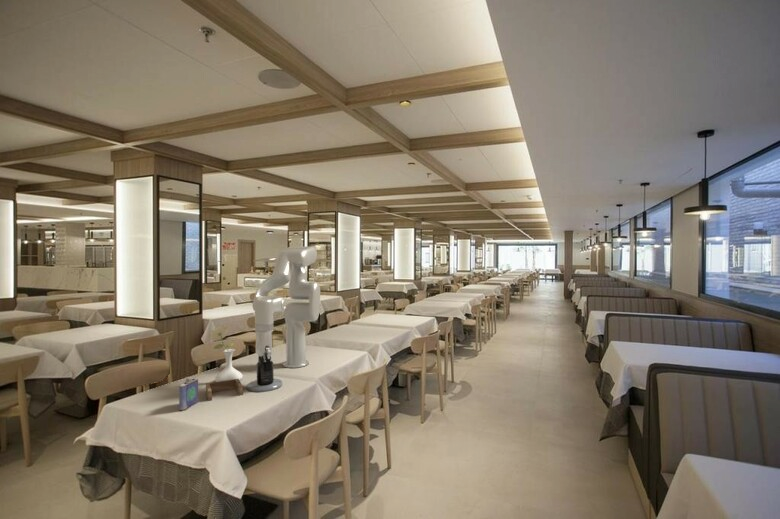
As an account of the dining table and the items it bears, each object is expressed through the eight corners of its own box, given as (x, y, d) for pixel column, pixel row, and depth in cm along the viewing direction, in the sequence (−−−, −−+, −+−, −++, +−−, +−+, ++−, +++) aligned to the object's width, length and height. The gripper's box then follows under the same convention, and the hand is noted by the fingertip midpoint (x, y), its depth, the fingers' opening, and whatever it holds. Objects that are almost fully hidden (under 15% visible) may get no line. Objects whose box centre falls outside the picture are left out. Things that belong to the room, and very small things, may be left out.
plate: (244, 384, 166) (244, 381, 166) (277, 379, 173) (277, 376, 173) (250, 394, 154) (250, 391, 154) (285, 388, 161) (285, 385, 161)
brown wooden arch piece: (205, 392, 157) (205, 383, 157) (238, 386, 163) (238, 378, 163) (208, 400, 147) (208, 391, 147) (242, 394, 154) (242, 386, 154)
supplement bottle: (256, 382, 166) (255, 354, 166) (272, 379, 168) (272, 352, 168) (257, 386, 159) (257, 357, 159) (274, 384, 162) (274, 356, 162)
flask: (184, 411, 138) (183, 381, 138) (176, 411, 138) (176, 380, 138) (199, 401, 147) (199, 373, 147) (192, 401, 147) (192, 373, 147)
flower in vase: (239, 376, 179) (239, 321, 178) (245, 382, 169) (244, 325, 169) (208, 381, 171) (208, 324, 171) (213, 388, 162) (212, 328, 162)
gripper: (251, 325, 169) (251, 364, 169) (259, 332, 154) (259, 374, 154) (268, 324, 173) (269, 362, 173) (278, 330, 158) (278, 372, 158)
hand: (264, 368), depth 164 cm, fingers open, 9 cm apart
